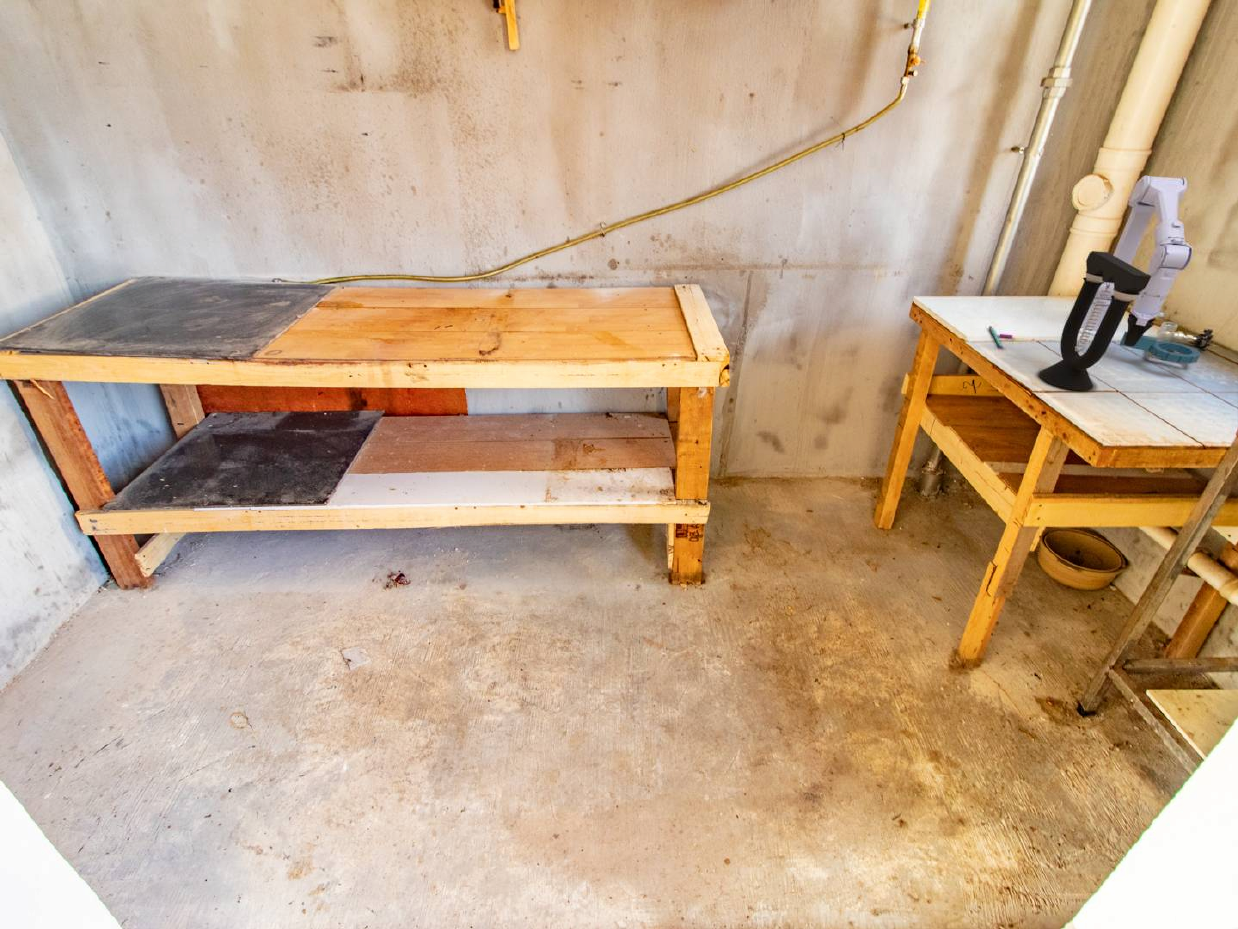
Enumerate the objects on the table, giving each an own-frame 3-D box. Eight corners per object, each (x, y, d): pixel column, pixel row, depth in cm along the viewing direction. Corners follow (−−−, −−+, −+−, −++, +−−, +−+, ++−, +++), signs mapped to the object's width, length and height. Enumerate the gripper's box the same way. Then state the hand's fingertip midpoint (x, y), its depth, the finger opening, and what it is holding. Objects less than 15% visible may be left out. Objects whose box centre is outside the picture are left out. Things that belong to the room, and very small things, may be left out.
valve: (1153, 348, 186) (1204, 356, 182) (1164, 326, 182) (1216, 333, 178) (1148, 340, 191) (1197, 347, 187) (1159, 318, 187) (1209, 325, 183)
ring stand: (1144, 360, 179) (1154, 341, 176) (1146, 350, 185) (1155, 332, 182) (1185, 369, 174) (1195, 350, 171) (1185, 358, 180) (1195, 340, 177)
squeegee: (1019, 347, 183) (1000, 345, 184) (1018, 350, 183) (999, 348, 184) (1007, 327, 195) (989, 325, 196) (1006, 330, 195) (988, 328, 196)
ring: (1118, 349, 170) (1123, 338, 168) (1121, 338, 177) (1126, 327, 175) (1196, 366, 162) (1203, 354, 160) (1196, 353, 169) (1202, 342, 167)
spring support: (1108, 398, 159) (1167, 276, 143) (1055, 394, 160) (1108, 273, 144) (1070, 363, 176) (1119, 251, 160) (1023, 360, 178) (1067, 248, 161)
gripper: (1171, 304, 158) (1145, 356, 165) (1173, 289, 168) (1148, 339, 175) (1137, 298, 161) (1113, 349, 169) (1140, 283, 171) (1117, 332, 179)
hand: (1129, 343), depth 172 cm, fingers closed on ring, 2 cm apart
